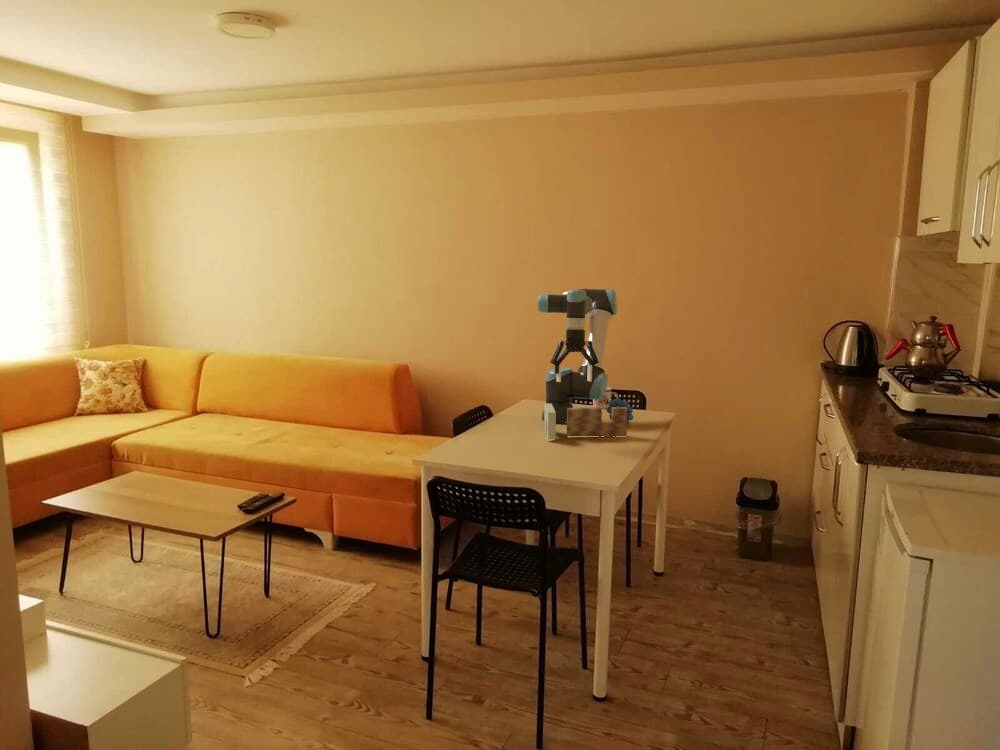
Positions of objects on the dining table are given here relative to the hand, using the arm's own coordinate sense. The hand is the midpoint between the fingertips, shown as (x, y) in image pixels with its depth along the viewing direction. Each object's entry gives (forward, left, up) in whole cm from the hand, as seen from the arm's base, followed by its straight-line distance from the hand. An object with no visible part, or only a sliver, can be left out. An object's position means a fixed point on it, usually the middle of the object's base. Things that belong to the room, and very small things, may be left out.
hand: (574, 381), depth 293 cm
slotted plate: (-2, -10, -23) cm, 25 cm away
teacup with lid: (-55, +23, -24) cm, 64 cm away
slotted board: (0, +9, -23) cm, 25 cm away
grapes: (-18, +22, -23) cm, 37 cm away
